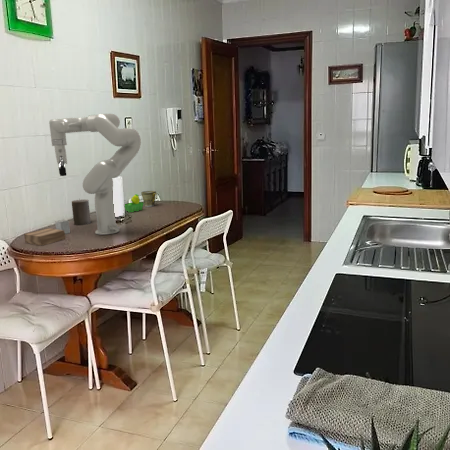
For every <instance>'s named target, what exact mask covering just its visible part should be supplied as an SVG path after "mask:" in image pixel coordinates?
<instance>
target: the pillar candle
mask: <svg viewBox="0 0 450 450" xmlns="http://www.w3.org/2000/svg"><path fill="white" fill-rule="evenodd" d="M71 209H72V217H73V225H74V226H75V225H76V226H84V225H89V224H91V223H92V222H91V220H92V219H91V211H90V203H89V199H80V198H79V199H75V200H72V201H71Z"/></svg>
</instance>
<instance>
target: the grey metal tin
mask: <svg viewBox="0 0 450 450" xmlns="http://www.w3.org/2000/svg"><path fill="white" fill-rule="evenodd" d="M54 225H55V229H58V230H64V231H65V235H67V234H71V229H70V222H69V220H67V219H61V220H60V219H59V220H56V221H54Z"/></svg>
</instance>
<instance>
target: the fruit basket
mask: <svg viewBox="0 0 450 450" xmlns="http://www.w3.org/2000/svg"><path fill="white" fill-rule="evenodd" d="M140 200H141V199H140V197H139V194H138V193H137V194H134V195H133V196H132V197H131V199H130V201H131V202H129V203H126V204H125V203H124V204H125V206H124V209H125V211H128V212H127V213H131V212H132V213H135V212H134V211H136V212H140V211H139V210H141V211H143V207H144V202H142V201H140Z"/></svg>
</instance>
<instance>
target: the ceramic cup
mask: <svg viewBox="0 0 450 450" xmlns="http://www.w3.org/2000/svg"><path fill="white" fill-rule="evenodd" d="M140 193H141V198H142V201H143V206H144V207H145V208H152V207H155V204H156V203H155V202H156V199H157V198H158V193H157V191H156V190H144V191H141V192H140Z"/></svg>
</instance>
